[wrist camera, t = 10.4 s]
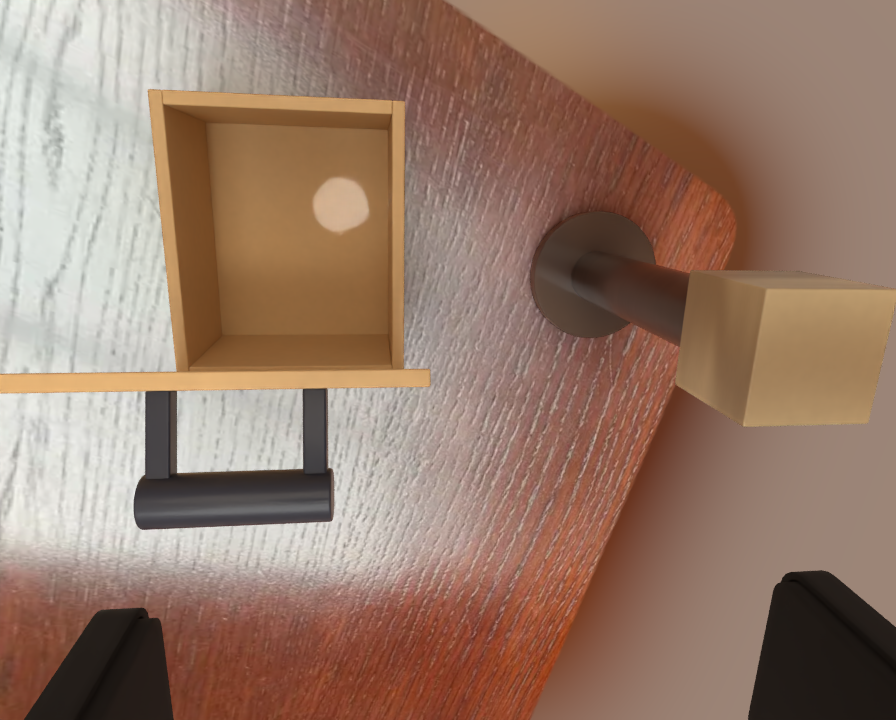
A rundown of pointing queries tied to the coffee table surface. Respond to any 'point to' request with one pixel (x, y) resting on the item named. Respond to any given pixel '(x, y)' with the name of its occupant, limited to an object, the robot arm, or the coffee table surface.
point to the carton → (282, 229)
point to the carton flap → (233, 492)
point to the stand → (606, 279)
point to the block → (784, 346)
